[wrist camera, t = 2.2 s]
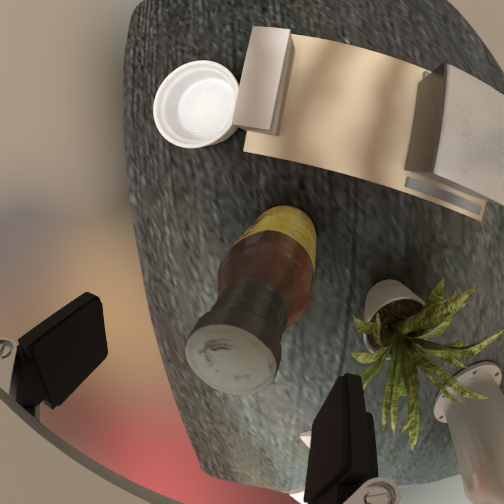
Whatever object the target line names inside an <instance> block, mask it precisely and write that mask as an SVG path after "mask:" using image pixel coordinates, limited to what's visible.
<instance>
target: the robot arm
mask: <svg viewBox="0 0 504 504" xmlns="http://www.w3.org/2000/svg"><path fill="white" fill-rule="evenodd" d="M18 342H19V345H18V346H17V345H16V343H15V341H14V340H12V339H10V338H7V337H2V338H0V504H184V503H181V502H178V501H176V500H173V499H171V498H168V497H166V496H163V495H161V494H158V493H156V492H154V491H152V490H149V489H147V488H145V487H143V486H141V485H139V484H136V483H134V482H132V481H130V480H128V479H126V478H124V477H123V476H121V475H119V474H117V473H115V472H113V471H111V470H110V469H108V468H106V467H104V466H103V465H101V464H99V463H98V462H96V461H94V460H92V459H91V458H89V457H88V456H86V455H85V454H83V453H82V452H80V451H79V450H77V449H76V448H74V447H73V446H71V445H70V444H68V443H67V442H65V441H64V440H63V439H61V438H60V437H58V436H57V435H56V434H54V433H53V432H52V431H51V430H49V429H48V428H47V427H45V426H44V425H43V424H42V423H40V403H41V402H42V401H43V402H44V403H45V404H46V405H47V406H48V407H50V408H51V409H52V410H53V409H54V408H55V407H56V406H59V405H61V404H62V403H63V402H64V401H65V400H66V399H67V398H68V397H69V396H70V395H71V394H72V393H73V392H74V390H75V389H76V388H77V387H78V386H79V385H80V384H81V383H82V382H83V381H84V380H85V379H86V378H87V377H88V376H89V375H90V374H91V373H92V372H93V371H94V370H95V369H96V368H97V367H98V366H99V365H100V364H101V363H102V361H103V360H104V359H105V358H106V357H107V354H108V349H107V341H106V334H105V327H104V318H103V307H102V303H101V302H100V298H99V297H97V296H95V295H93V294H91V293H89V292H85V293H83V294H82V295H81V296H79V297H78V298H76V299H74V300H73V301H71V302H70V303H69V304H67V305H66V306H64V307H63V308H61V309H60V310H58V311H57V312H56V313H54V314H53V315H51V316H50V317H48V318H47V319H46V320H44V321H43V322H41V323H40V324H38V325H37V326H36V327H34V328H33V329H31V330H30V331H29V332H27V333H26V334H25V335H23V336H22V337H21V338H19V339H18ZM454 378H455V379H456V380H457V381H458V382H459V383H461V384H462V385H463V386H465V387H466V388H467V389H469V390H471V391H473V392H475V393H477V394H480V395H483V396H485V397H488V398H486V399H475V398H468V397H464V396H461V395H460V394H458V393H457V392H455V391H454V390H453V389H452V388H450V387H449V386H448V385H447V384H445V385H444V387H445V389H446V390H447V391H449V392H450V393H451V394H452V395H453V396H455V397H456V398H458V399H460V400H462V401H464V402H457V401H453V400H451V399H448V398H447V397H446V396H444V395H443V394H442V393H441V391H440V392H439V393H438V395H437V396H436V398H435V401H434V403H433V412H434V415H435V418H436V419H437V420H438V421H440V422H444V423H447V424H448V427H449V430H450V434H451V437H452V440H453V444H454V448H455V451H456V455H457V459H458V463H459V467H460V471H461V476H462V480H463V485H464V490H465V494H466V497H467V498H468V500H469V501H470V502H471V503H473V504H504V394H503V393H502V391H501V389H500V388H499V386H500V383H501V379H502V374H501V370H500V369H499V367H498V366H497V365H496V364H495V363H493V362H488V361H486V362H480V363H476V364H474V365H471V366H469V367H468V368H465V369H464V370H462V371H461V372H459V373H458V374H456V375H455V376H454ZM489 398H490V399H489ZM303 501H304V503H308V504H399V502H400V491H399V489H398V487H397V485H396V484H395V483H394V482H393V481H391V480H389V479H386V478H382V477H379V478H378V465H377V451H376V440H375V430H374V421H373V416H372V414H371V413H369V412H366V409H365V400H364V391H363V384H362V377H361V376H359V375H354V374H348V373H345V374H344V376H343V377H342V376H339V377H338V378H337V380H336V382H335V384H334V386H333V388H332V389H331V391H330V393H329V395H328V397H327V399H326V400H325V402H324V404H323V406H322V407H321V409H320V411H319V413H318V414H317V416H316V418H315V419H314V422H313V425H312V431H311V442H310V451H309V460H308V469H307V476H306V484H305V491H304V498H303Z"/></svg>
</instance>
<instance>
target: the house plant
mask: <svg viewBox="0 0 504 504" xmlns="http://www.w3.org/2000/svg"><path fill="white" fill-rule="evenodd" d="M478 286H479V285H478ZM478 286H477V287H478ZM477 287H476V288H473V289H470V290H467V291H466V292H464V293H463V294H461V295H459V296H458V297H456V293H455V294H454V295H452V296H451V297H449V298H447V299H446V300H444V301H443V299H444V295H445V285H444V278H443V279H442V281H440V282H439V283H438V284H437V285H436V286H435V287H434V289H433V290H432V292H431V293H430V295H429V297H428V299H427V301H426V303H425V302H424V301H423V300H421V299H420V298H419V297H418V296H417V295H415V294H414V293H413V292H412V291H411V290H409V289H408V288H407V287H406V286H404V285H403V284H402V283H400V282H399V281H396V280H390V279H388V280H383V281H381V282H379V283H377V284H375V285H374V286H373V287H372V288H371V289H370V291H369V292H368V294H367V296H366V301H365V316H364V321H362V320H359V319H357V318H355V316H354V315H353V317H354V324H355V329H356V330H357V332H359V333H361V334H363V336H364V343H365V345H366V347H367V349H368V350H369V351H370V352H371V353H363V352H362V353H351V352H350V354H351V356H352V357H353V358H355V359H356V360H357V361H358V362H360V363H364V364H368V363H372V362H374V363H373V364H372V365H371V366H370V367H368V368H367V369H366V370H364V371H363V372H362V373H360V374H359V376H361V377H362V383H363V382H365V381H366V380H367V379H368V378H369V377H370V376H371V375H372V374H373V375H372V376H371V377H370V378H369V379H368V380H367V382H366V383H365V384H364V385H363V390H364V389H365V388H366V386H367V385H368V384H369V383H370V381H371V380H372V379H373V378H374V377H375V375H376V374H377V373H378V372H379V370H380V369H381V367H382V366H383V364H384V362H385V360H390V365H389V369H388V376H387V384H386V389H385V393H384V398H383V404H382V429H383V430H384V428H385V425H386V420H387V416H388V414H389V411H390V405H391V424H392V429H393V433H394V432H395V428H396V420H397V416H398V401H399V396H401V397H403V396H405V395H407V399H408V414H407V420H406V424H405V426H404V427H403V429H402V432H401V434H402V433H403V432H404V431H405V430H406V429H407V428H408V430H409V434H410V439H411V448H412V451H413V449H414V447H415V445H416V442H417V438H418V434H419V422H420V401H419V398H418V387H419V380H418V373H417V368H416V365H417V366H418V367H420V369H421V370H422V371H423V372H424V373H425V374H426V375H427V376H428V377H429V378H430V379H431V381H432V382H433V383H434V384H435V385H436V387H437V388H438V389H439V390H440V391H441V393H442V394H443V395H444V396H446V397H447V398H448V399H451V400H453V401H457V402H464V401H462V400H460V399H458V398H456V397H455V396H453V395H452V394H451V393H450V392H449V391H447V390H446V389H445V387H444V386H443V385H442V384H441V383H440V381H439V380H438V379H437V378H436V377H435V376H434V375H433V374H432V373H431V372H430V371H432V372H434V373H435V374H436V375H437V376H438V377H440V378H441V379H442V380H443V381H444V382H445V383H446V384H447V385H448V386H449V387H450V388H452V389H453V390H454V391H455V392H457V393H458V394H460V395H461V396H464V397H468V398H475V399H486V398H488V397H485V396H483V395H480V394H477V393H475V392H473V391H471V390H469V389H467V388H466V387H465V386H463V385H462V384H461V383H459V382H458V381H457V380H456V379H455V378H454V377H453V376H452V375H451V374H450V373H449V372H447V371H446V370H444V369H443V368H445V367H441V366H438V365H437V364H436V363H434V362H433V361H432V360H431V359H429V358H428V357H427V356H426V355H424V354H423V353H425V354H428V355H431V356H437V357H441V358H442V359H443V360H445V361H446V362H447V363H449V364H450V365H453V366H457V367H460V368H468V367H467V366H465V365H464V364H462V363H461V362H459V361H458V360H457V359H456V358H465V357H469V356H473V355H475V354H476V353H478V352H480V351H481V350H483V349H484V348H485V347H486V346H488V345H489V344H490V343H492V342H493V341H494V340H496V339H497V338H498V337H499V336H500V335H501V334H502V332H503V331H504V329H503V330H502V331H500V332H499V333H497V334H495V335H494V336H492V337H490V338H489V339H487V340H486V341H484V340H485V339H486V337H487V336H486V337H485V338H484V339H482V340H480V341H479V342H477V343H475V344H472V345H469V346H465V347H462V346H463V343H464V342H463V341H457V342H453V343H450V344H445V345H442V344H438V343H434V342H430V341H426V340H427V339H430V338H435V337H437V336H440V335H442V334H443V333H444V331H445V329H446V328H447V327H448V326H449V324H450V323H451V321H452V315H454V314H455V313H457V312H458V311H459V310H461V309H462V308H463V307H465V306H466V305H467V303H468V302H469V301H470V300H471V299H470V300H468V301H466V302H465V303H463V302H464V301H465V300H466V299H467V298H468V297H469V296H470V295H471V294H472V293H473V292H474V291H475V290H476V289H477ZM456 292H457V290H456ZM462 303H463V304H462ZM460 304H461V305H460ZM438 325H439V326H438ZM436 326H438V327H436ZM434 327H436V328H435V329H434V330H433V331H431V329H432V328H434ZM482 341H484V342H482ZM481 342H482V343H481ZM479 343H480V344H479ZM421 346H422V347H424V348H422V347H421ZM459 350H460V351H459ZM422 352H423V353H422ZM382 360H383V361H382ZM381 362H382V363H381ZM379 365H380V366H379ZM450 365H448V366H450ZM448 366H446V367H448ZM377 368H378V369H377ZM376 369H377V370H376ZM392 392H393V397H392ZM391 397H392V403H391ZM489 399H490V398H489Z"/></svg>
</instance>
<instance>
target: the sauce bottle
mask: <svg viewBox="0 0 504 504" xmlns="http://www.w3.org/2000/svg"><path fill="white" fill-rule="evenodd" d="M315 257H316V231H315V228H314V225H313V223H312V221H311V219H310V217H309V216H308V215H307V214H306V213H305V212H304V211H302V210H300V209H299V208H296V207H294V206H291V205H281V206H277V207H273V208H271V209H268V210H266V211H265V212H264V213H263V214H262V215H261V216H260V217H259V218H258V219H257V220H256V221H255V222H254V223H253V224H252V225H251V226H250V227H249V228H248V229H247V231H245V232H244V234H243V235H242V236H241V237H240V238H239V239H238V240H237V241H236V242H235V243H234V245H232V247H231V248H230V249H229V250H228V252H227V253H226V254H225V256H224V257H223V259H222V261H221V264H220V267H219V271H218V298H217V301H216V303H215V304H214V306H213V307H212V308H211V310H210V311H209V312H207V313H206V314H204V315H203V316H202V317H200V318H199V319H198V321H197V323H196V324H195V326H194V328H193V330H192V331H191V333H190V335H189V337H188V338H187V342H186V345H185V354H186V358H187V361H188V363H189V365H190V366H191V368H192V369H193V371H194V372H195V373H196V374H197V375H198V376H199V377H200V378H201V379H202V380H203V381H204V382H206V383H207V384H208V385H210V386H211V387H212V388H215V389H217V390H219V391H222V392H225V393H229V394H235V395H249V394H252V393H258V392H260V391H261V390H264V389H265V388H267V387H268V386H269V385H270V384H271V383H272V382H273V380H274V379H275V377H276V374H277V371H278V368H279V364H280V361H281V344H280V341H281V338H282V334H283V332H284V331H285V329H286V328H288V327H290V326H291V325H292V324H293V323H294V322H296V321H297V320H298V319H299V317H300V316H301V315H302V314H303V312H304V311H305V309H306V308H307V306H308V303H309V299H310V297H311V292H312V284H313V279H314V271H315Z"/></svg>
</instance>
